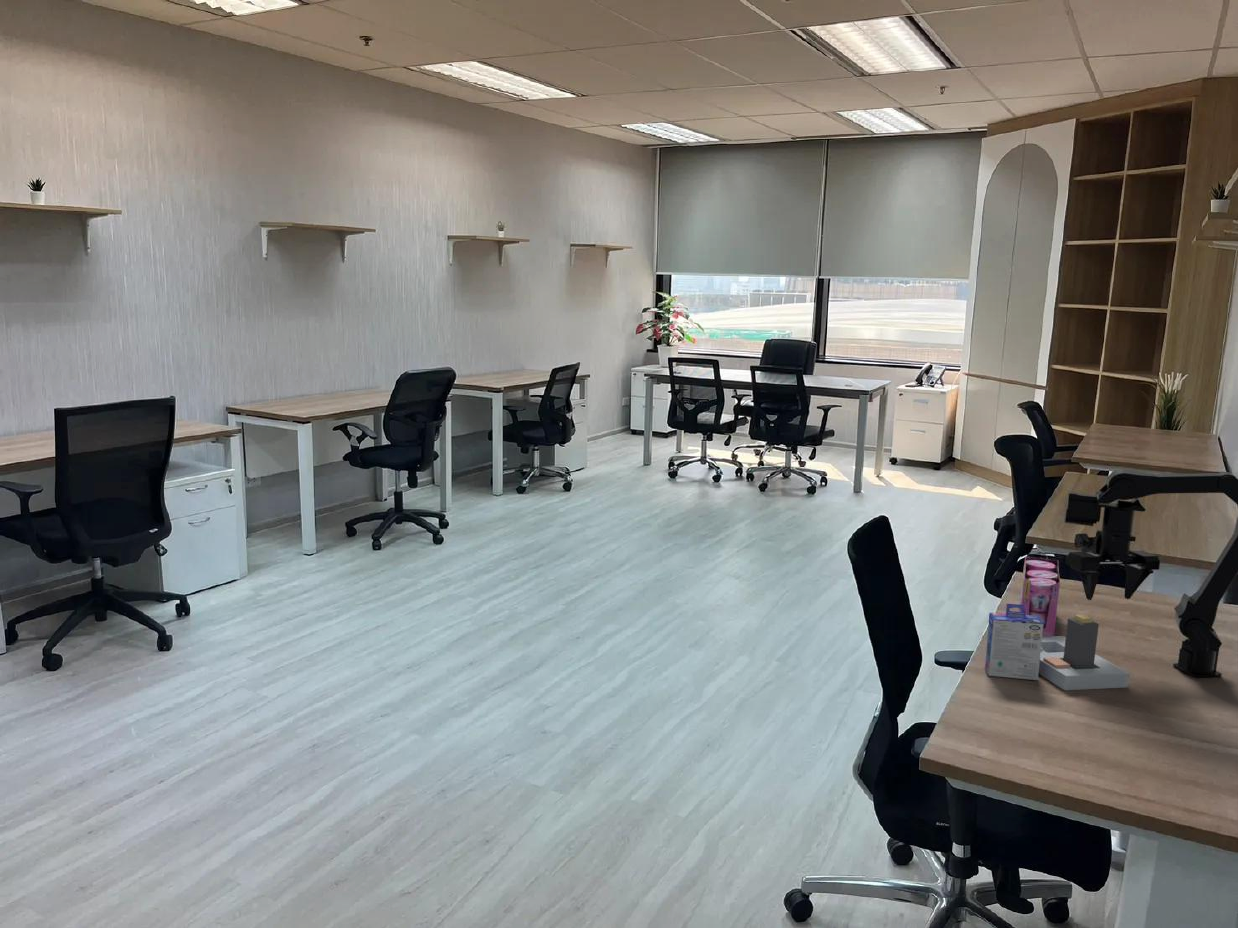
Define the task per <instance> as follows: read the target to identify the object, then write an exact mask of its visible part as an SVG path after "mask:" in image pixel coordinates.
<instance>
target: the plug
mask: <svg viewBox="0 0 1238 928" xmlns="http://www.w3.org/2000/svg"><path fill="white" fill-rule="evenodd" d="M1065 631H1066V633H1065V637H1066V640H1065V648H1064V657H1063V661H1065V662H1066V663H1068V664H1070V667H1072V668H1073V669H1093V667H1094V659H1095V654H1096V650H1097V642H1098V640H1097V639H1098V634H1099V633H1098V632H1099V623H1097V622H1095V621H1094V618H1093V617H1091V616H1090V615H1087V614H1086V613H1085V614H1082V613H1081V614H1074V617H1070V618H1069V617H1068V618H1067V624H1066V630H1065Z"/></svg>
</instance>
